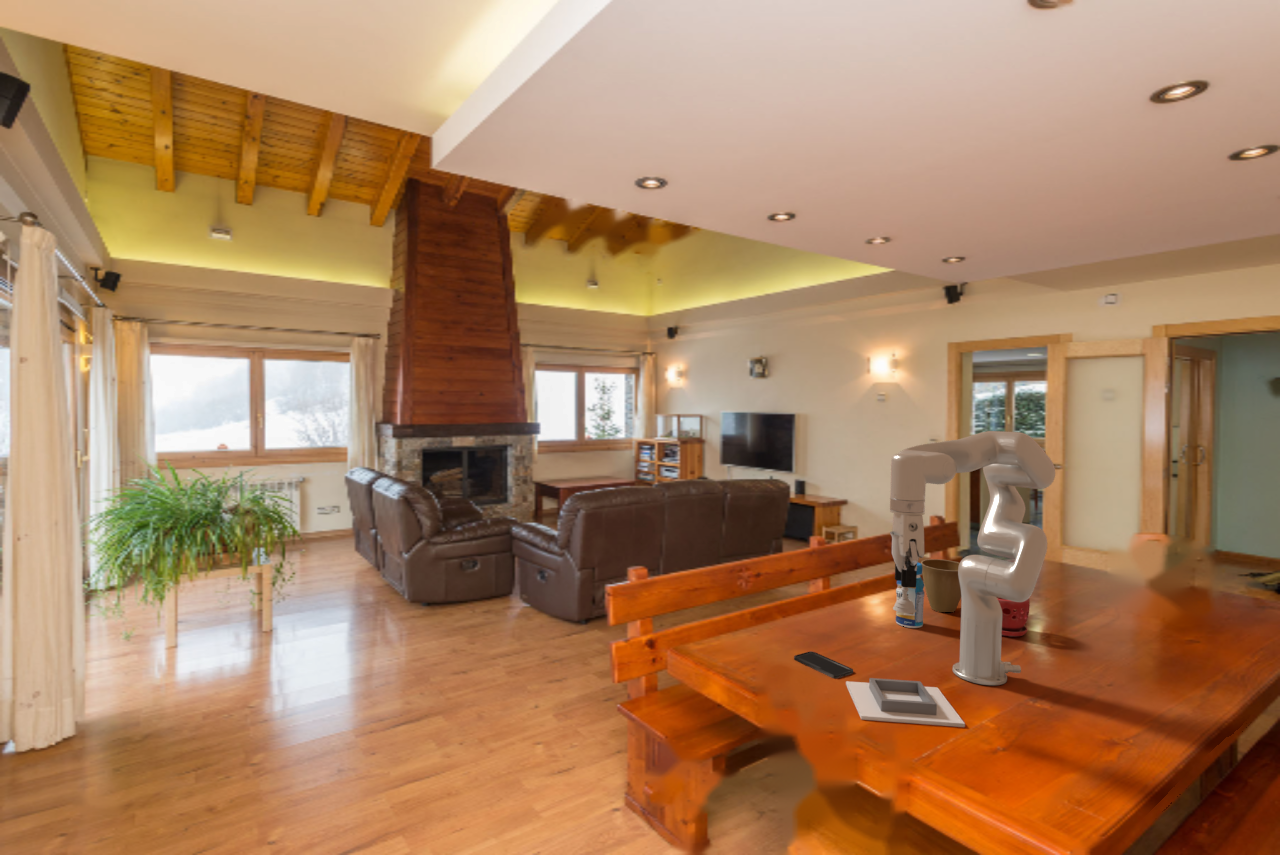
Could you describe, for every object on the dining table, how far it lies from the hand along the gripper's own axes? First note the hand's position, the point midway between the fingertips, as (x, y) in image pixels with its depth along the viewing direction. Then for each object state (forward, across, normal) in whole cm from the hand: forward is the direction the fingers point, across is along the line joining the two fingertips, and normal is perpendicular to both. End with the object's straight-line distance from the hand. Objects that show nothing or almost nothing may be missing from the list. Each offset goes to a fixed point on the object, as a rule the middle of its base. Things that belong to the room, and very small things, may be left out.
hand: (905, 582), depth 149 cm
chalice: (+7, 0, 0) cm, 7 cm away
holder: (+29, 0, 0) cm, 29 cm away
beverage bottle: (+29, +58, -18) cm, 67 cm away
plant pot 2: (+30, +56, -46) cm, 78 cm away
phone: (+30, +20, +15) cm, 39 cm away
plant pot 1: (+30, +75, -34) cm, 87 cm away
